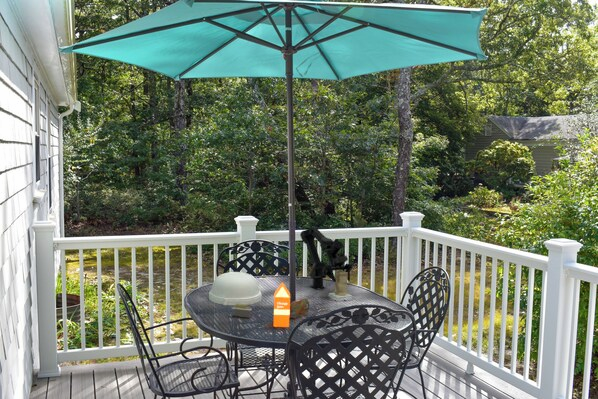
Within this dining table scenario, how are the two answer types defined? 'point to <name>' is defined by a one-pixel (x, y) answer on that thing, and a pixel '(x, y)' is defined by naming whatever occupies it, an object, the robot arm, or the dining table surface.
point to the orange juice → (281, 307)
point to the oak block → (341, 283)
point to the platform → (241, 310)
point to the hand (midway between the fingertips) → (342, 281)
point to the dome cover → (235, 289)
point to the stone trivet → (339, 296)
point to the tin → (299, 308)
